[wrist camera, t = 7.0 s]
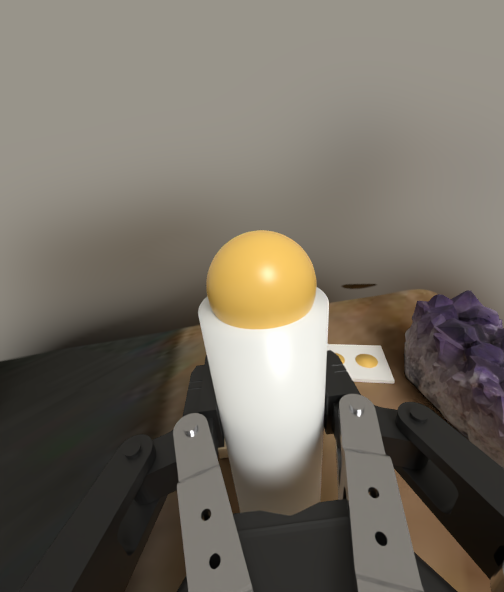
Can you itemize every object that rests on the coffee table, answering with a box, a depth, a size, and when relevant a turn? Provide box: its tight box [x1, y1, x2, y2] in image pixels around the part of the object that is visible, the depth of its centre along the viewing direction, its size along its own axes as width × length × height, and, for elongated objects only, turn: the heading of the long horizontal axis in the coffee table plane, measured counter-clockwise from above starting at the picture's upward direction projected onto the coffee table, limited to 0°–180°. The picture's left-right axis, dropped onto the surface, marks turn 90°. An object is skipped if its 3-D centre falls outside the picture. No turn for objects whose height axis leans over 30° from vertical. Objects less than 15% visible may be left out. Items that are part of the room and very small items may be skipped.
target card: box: [327, 344, 395, 384], centre depth 31 cm, size 8×6×1 cm
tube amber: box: [198, 230, 329, 515], centre depth 11 cm, size 4×4×14 cm
